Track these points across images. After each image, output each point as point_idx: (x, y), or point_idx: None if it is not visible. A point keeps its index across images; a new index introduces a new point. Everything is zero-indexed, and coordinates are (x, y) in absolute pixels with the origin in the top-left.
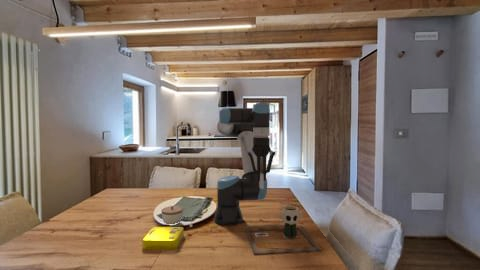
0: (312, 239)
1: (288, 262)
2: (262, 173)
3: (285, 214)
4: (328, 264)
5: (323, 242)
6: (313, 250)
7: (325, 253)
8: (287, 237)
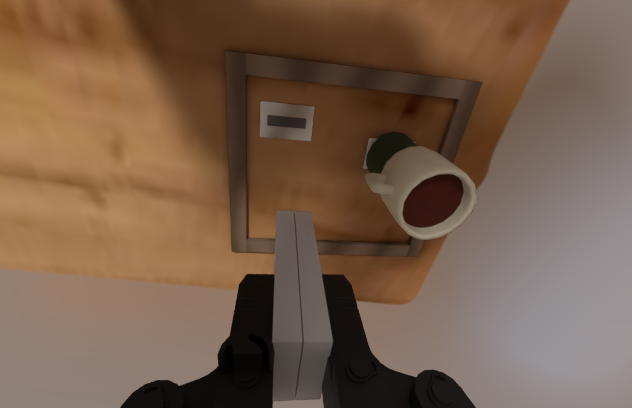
0: None
1: None
2: (326, 355)
3: (391, 212)
4: (390, 301)
5: None
6: (396, 254)
7: (416, 265)
8: None
